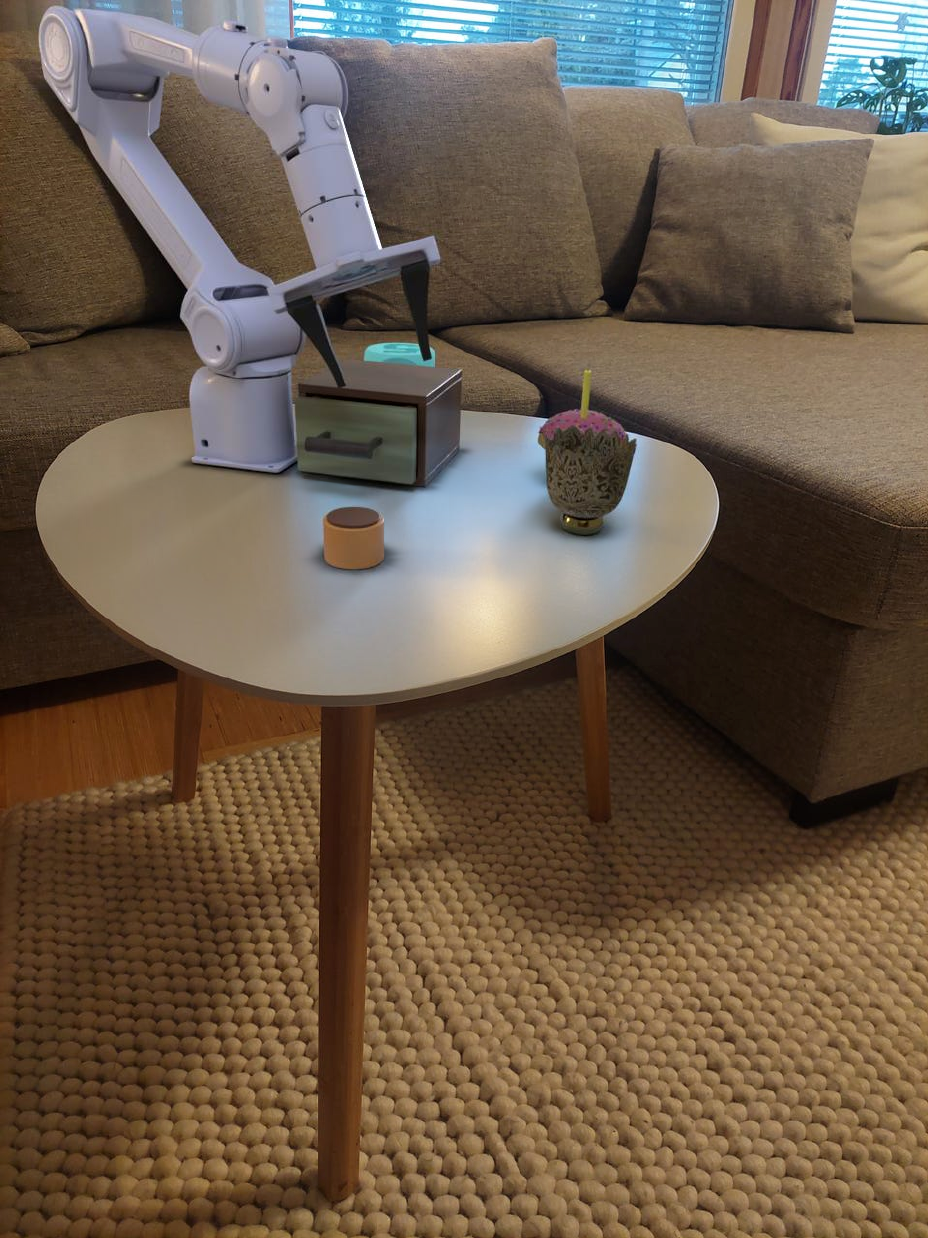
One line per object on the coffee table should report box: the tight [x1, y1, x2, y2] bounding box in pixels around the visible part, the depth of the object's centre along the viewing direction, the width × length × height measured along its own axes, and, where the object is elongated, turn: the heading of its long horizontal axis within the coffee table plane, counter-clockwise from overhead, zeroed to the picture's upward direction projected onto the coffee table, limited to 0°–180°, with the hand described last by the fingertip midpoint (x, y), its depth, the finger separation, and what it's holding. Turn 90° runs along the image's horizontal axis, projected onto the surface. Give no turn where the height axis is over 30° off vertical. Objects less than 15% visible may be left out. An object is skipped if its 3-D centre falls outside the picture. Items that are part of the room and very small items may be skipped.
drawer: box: [293, 394, 419, 485], centre depth 83 cm, size 16×11×7 cm
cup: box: [544, 425, 638, 536], centre depth 73 cm, size 8×7×8 cm
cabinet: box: [297, 358, 463, 488], centre depth 88 cm, size 13×13×9 cm
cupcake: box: [537, 361, 628, 450], centre depth 83 cm, size 9×8×12 cm
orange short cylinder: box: [322, 506, 385, 570], centre depth 67 cm, size 5×5×4 cm
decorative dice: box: [363, 342, 436, 367], centre depth 103 cm, size 8×8×8 cm
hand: (385, 373), depth 75 cm, fingers open, 7 cm apart
